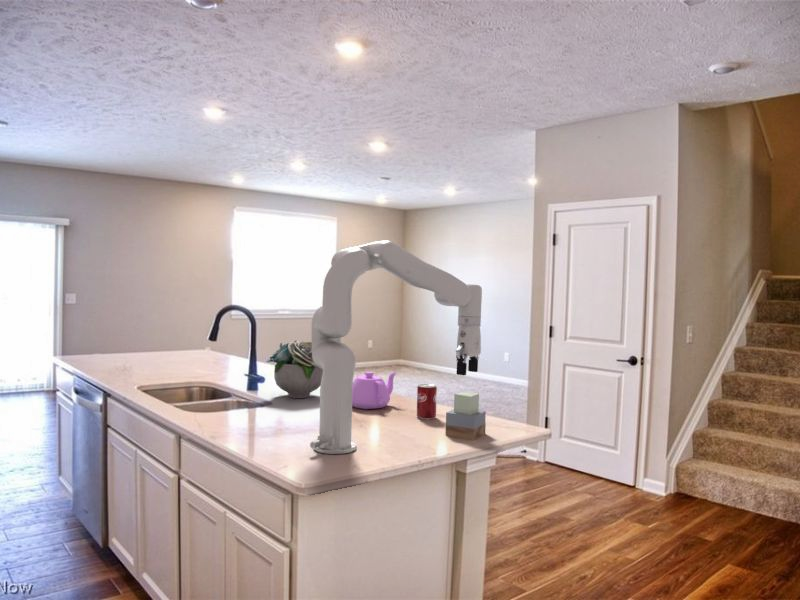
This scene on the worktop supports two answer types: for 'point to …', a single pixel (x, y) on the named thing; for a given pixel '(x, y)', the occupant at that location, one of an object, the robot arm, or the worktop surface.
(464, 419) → the block top
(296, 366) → the flower arrangement
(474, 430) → the block bottom
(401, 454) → the worktop surface
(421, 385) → the soda can
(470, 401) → the sage block
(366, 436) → the worktop surface
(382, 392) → the teapot
